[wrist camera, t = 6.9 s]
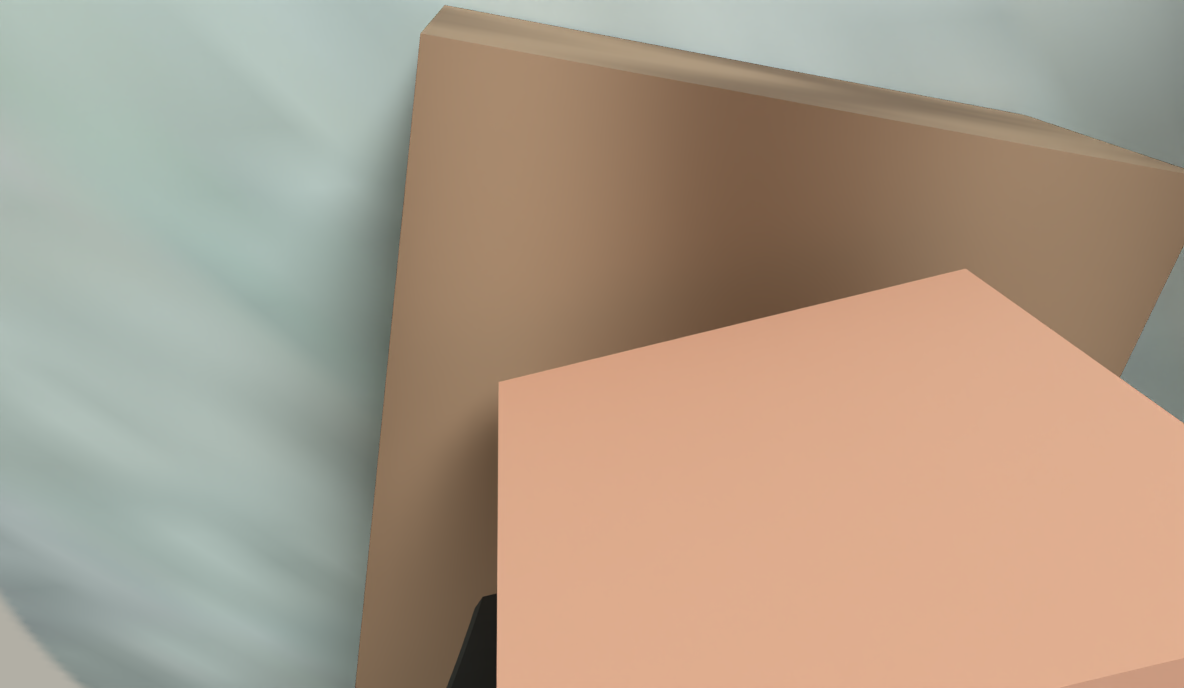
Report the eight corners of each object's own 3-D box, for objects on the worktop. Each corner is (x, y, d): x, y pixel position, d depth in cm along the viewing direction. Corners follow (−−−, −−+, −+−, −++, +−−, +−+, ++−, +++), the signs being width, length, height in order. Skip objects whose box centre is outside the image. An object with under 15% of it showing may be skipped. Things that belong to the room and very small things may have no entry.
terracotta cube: (965, 268, 9) (1429, 598, 4) (977, 622, 11) (1299, 1087, 7) (499, 381, 9) (494, 823, 5) (600, 713, 11) (667, 1234, 7)
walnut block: (1024, 115, 14) (1215, 179, 10) (850, 572, 17) (944, 741, 14) (444, 5, 12) (420, 33, 8) (387, 529, 16) (353, 706, 12)
